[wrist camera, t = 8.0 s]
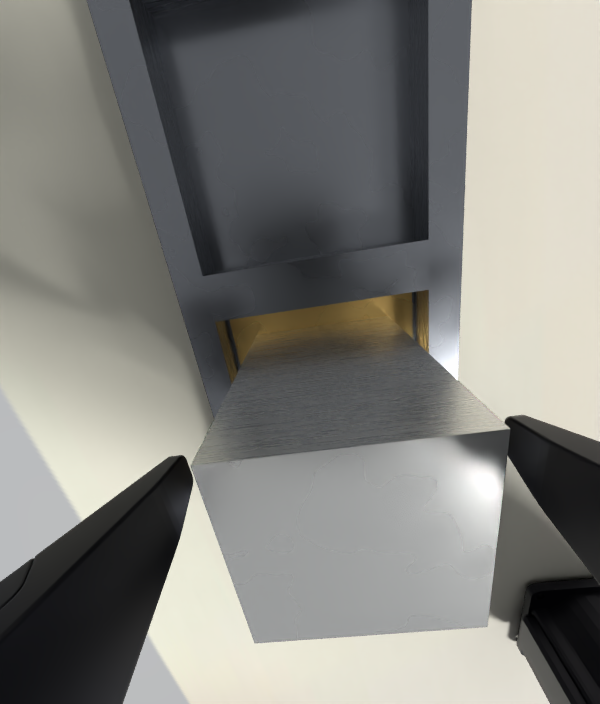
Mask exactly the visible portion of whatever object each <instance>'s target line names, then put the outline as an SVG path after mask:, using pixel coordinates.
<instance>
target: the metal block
mask: <svg viewBox="0 0 600 704" xmlns="http://www.w3.org/2000/svg"><path fill="white" fill-rule="evenodd" d="M509 437H510V428H509V427H508V426H507V425H506V424H505V423H504V422H503V421H501V420H500V419H499V418H498V417H497V416H496V415H495V414H494V413H493V412H492V411H491V410H490V409H488V408H487V407H486V406H485V405H484V404H483V403H482V402H481V401H480V400H479V399H478V398H477V397H475V396H474V395H473V394H472V393H471V392H470V391H469V390H468V389H467V388H466V387H465V386H464V385H462V384H461V383H460V382H459V381H458V380H457V379H456V378H455V377H454V376H453V375H452V374H451V373H449V372H448V371H447V370H446V369H445V368H444V367H443V366H442V365H441V364H440V363H439V362H437V361H436V360H435V359H434V358H433V357H432V356H431V355H430V354H429V353H428V352H427V351H426V350H424V349H423V348H422V347H421V346H420V345H419V344H418V343H417V342H416V341H415V340H414V339H413V338H411V337H410V336H409V335H408V334H407V333H406V332H405V331H404V330H403V329H402V328H401V327H400V326H398V325H397V324H396V323H395V322H394V321H393V320H392V319H391V318H390V317H389V316H384V317H377V318H370V319H363V320H356V321H349V322H342V323H335V324H329V325H322V326H315V327H308V328H301V329H294V330H287V331H280V332H274V333H267V334H260V335H256V337H255V339H254V341H253V343H252V345H251V347H250V349H249V351H248V353H247V355H246V357H245V359H244V361H243V363H242V365H241V367H240V369H239V371H238V373H237V375H236V377H235V379H234V381H233V383H232V385H231V387H230V389H229V391H228V393H227V395H226V397H225V399H224V401H223V403H222V405H221V407H220V409H219V411H218V413H217V415H216V417H215V419H214V421H213V423H212V425H211V427H210V429H209V431H208V432H207V434H206V436H205V438H204V440H203V442H202V444H201V446H200V448H199V450H198V452H197V454H196V456H195V458H194V460H193V462H192V464H191V468H192V471H193V474H194V476H195V479H196V482H197V485H198V487H199V490H200V493H201V496H202V499H203V501H204V504H205V507H206V510H207V512H208V515H209V518H210V521H211V523H212V526H213V529H214V532H215V535H216V537H217V540H218V543H219V546H220V548H221V551H222V554H223V557H224V559H225V562H226V565H227V568H228V571H229V573H230V576H231V579H232V582H233V584H234V587H235V590H236V593H237V595H238V598H239V601H240V604H241V607H242V609H243V612H244V615H245V618H246V620H247V623H248V626H249V629H250V632H251V634H252V637H253V640H254V643H266V642H281V641H295V640H309V639H323V638H337V637H351V636H366V635H380V634H394V633H408V632H422V631H436V630H451V629H465V628H479V627H487V626H488V617H489V609H490V600H491V592H492V583H493V574H494V566H495V557H496V549H497V540H498V532H499V523H500V514H501V506H502V497H503V489H504V480H505V471H506V463H507V454H508V446H509Z"/></svg>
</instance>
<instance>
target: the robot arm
mask: <svg viewBox="0 0 600 704" xmlns="http://www.w3.org/2000/svg"><path fill="white" fill-rule="evenodd" d="M505 424H506V425H507V426H508V427H509V428H510V437H509V446H508V454H507V455H508V457H509V458H510V460H511V461H512V463H513V465H514V466H515V468H516V469H517V471H518V473H519V474H520V476H521V477H522V479H523V481H524V482H525V484H526V485H527V487H528V489H529V490H530V492H531V493H532V495H533V496H534V498H535V499H536V501H537V502H538V504H539V505H540V507H541V508H542V509H543V511H544V512H545V514H546V515H547V516H548V518H549V519H550V520H551V521H552V523H553V524H554V525H555V527H556V528H557V529H558V531H559V532H560V533H561V535H562V536H563V537H564V539H565V540H566V541H567V542H568V544H569V545H570V546H571V548H572V549H573V550H574V552H575V553H576V554H577V556H578V557H579V558H580V559H581V561H582V562H583V563H584V565H585V566H586V567H587V569H588V570H589V571H590V573H591V574H592V575H593V577H594V578H595V579H583V580H571V581H558V582H546V583H535V584H532V585H530V586H528V587H527V589H526V594H525V600H524V605H523V611H522V617H521V622H520V628H519V633H518V639H517V647H518V649H519V651H520V652H521V654H522V655H524V656H525V657H526V659H527V661H528V663H529V665H530V667H531V668H532V670H533V672H534V674H535V676H536V678H537V680H538V682H539V684H540V685H541V687H542V689H543V691H544V693H545V695H546V697H547V699H548V701H549V703H550V704H600V442H599V441H596V440H593V439H590V438H587V437H585V436H582V435H579V434H576V433H573V432H570V431H568V430H565V429H562V428H559V427H556V426H554V425H551V424H548V423H545V422H542V421H539V420H537V419H534V418H531V417H528V416H525V415H518V416H510V417H507V418H506V420H505ZM192 486H193V477H192V474H191V471H190V468H189V465H188V463H187V460H186V458H185V457H184V456H182V455H179V456H171V457H168V458H167V459H165V460H164V461H163V462H161V463H160V464H159V465H157V466H156V467H155V468H153V469H152V470H151V471H149V472H148V473H147V474H145V475H144V476H142V477H141V478H140V479H138V480H137V481H136V482H134V483H133V484H132V485H130V486H129V487H128V488H126V489H125V490H124V491H122V492H121V493H120V494H118V495H117V496H116V497H114V498H113V499H111V500H110V501H109V502H107V503H106V504H105V505H103V506H102V507H101V508H99V509H98V510H97V511H95V512H94V513H93V514H91V515H90V516H89V517H87V518H86V519H85V520H83V521H82V522H80V523H79V524H78V525H76V526H75V527H74V528H72V529H71V530H70V531H68V532H67V533H66V534H64V535H63V536H62V537H60V538H59V539H58V540H56V541H55V542H54V543H52V544H51V545H50V546H48V547H47V548H45V549H44V550H43V551H41V552H40V553H39V554H37V555H36V556H35V559H30V560H29V561H28V562H26V563H25V564H24V565H22V566H21V567H20V568H19V569H17V570H16V571H14V572H13V573H12V574H10V575H9V576H8V577H6V578H5V579H3V580H2V581H1V582H0V704H123V701H124V698H125V696H126V692H127V690H128V687H129V684H130V681H131V678H132V675H133V673H134V670H135V666H136V664H137V661H138V658H139V655H140V652H141V649H142V647H143V644H144V641H145V638H146V635H147V632H148V629H149V626H150V623H151V621H152V618H153V615H154V612H155V609H156V606H157V603H158V600H159V598H160V595H161V592H162V589H163V586H164V583H165V580H166V577H167V574H168V572H169V569H170V566H171V563H172V560H173V557H174V554H175V551H176V548H177V545H178V542H179V539H180V536H181V532H182V528H183V524H184V520H185V515H186V511H187V507H188V503H189V499H190V495H191V491H192Z"/></svg>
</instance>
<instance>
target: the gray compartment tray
mask: <svg viewBox="0 0 600 704" xmlns="http://www.w3.org/2000/svg"><path fill="white" fill-rule="evenodd" d="M87 3H88V6H89V9H90V13H91V16H92V19H93V23H94V26H95V29H96V32H97V36H98V39H99V42H100V46H101V49H102V52H103V55H104V59H105V62H106V65H107V69H108V72H109V75H110V78H111V82H112V85H113V88H114V91H115V95H116V98H117V101H118V105H119V108H120V111H121V114H122V118H123V121H124V124H125V128H126V131H127V134H128V137H129V141H130V144H131V147H132V151H133V154H134V157H135V160H136V164H137V167H138V170H139V174H140V177H141V180H142V183H143V187H144V190H145V193H146V197H147V200H148V203H149V206H150V210H151V213H152V216H153V220H154V223H155V226H156V229H157V233H158V236H159V239H160V243H161V246H162V249H163V252H164V256H165V259H166V262H167V265H168V269H169V272H170V275H171V279H172V282H173V285H174V288H175V292H176V295H177V298H178V302H179V305H180V308H181V311H182V315H183V318H184V321H185V325H186V328H187V331H188V334H189V338H190V341H191V344H192V348H193V351H194V354H195V357H196V361H197V364H198V367H199V371H200V374H201V377H202V380H203V384H204V387H205V390H206V394H207V397H208V400H209V403H210V407H211V410H212V413H213V417H214V419H215V417H216V415H217V413H218V411H219V409H220V407H221V405H222V403H223V401H224V399H225V397H226V395H227V393H228V391H229V389H230V387H231V385H232V383H233V381H234V379H235V377H236V375H237V373H238V371H239V369H240V367H241V365H242V363H243V361H244V359H245V357H246V355H247V353H248V351H249V349H250V347H251V345H252V343H253V341H254V339H255V337H256V335H260V334H267V333H274V332H280V331H287V330H294V329H301V328H308V327H315V326H322V325H329V324H335V323H342V322H349V321H356V320H363V319H370V318H377V317H384V316H389V317H390V318H391V319H392V320H393V321H394V322H395V323H396V324H397V325H398V326H400V327H401V328H402V329H403V330H404V331H405V332H406V333H407V334H408V335H409V336H410V337H411V338H413V339H414V340H415V341H416V342H417V343H418V344H419V345H420V346H421V347H422V348H423V349H424V350H426V351H427V352H428V353H429V354H430V355H431V356H432V357H433V358H434V359H435V360H436V361H437V362H439V363H440V364H441V365H442V366H443V367H444V368H445V369H446V370H447V371H448V372H449V373H451V374H452V375H453V376H454V377H455V378H456V379H457V380H458V357H459V330H460V303H461V276H462V250H463V223H464V196H465V169H466V142H467V115H468V89H469V62H470V35H471V8H472V0H87Z"/></svg>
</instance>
